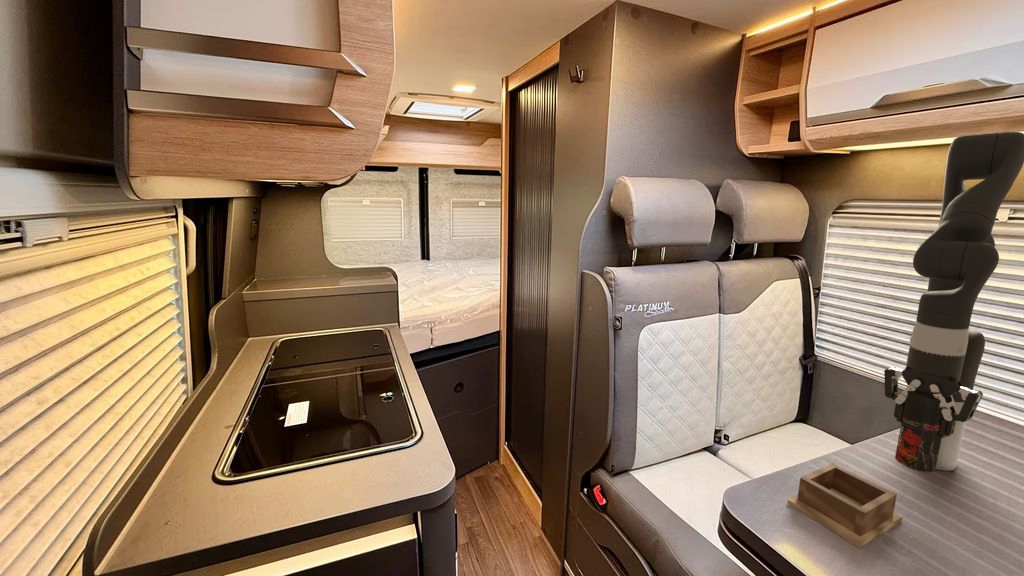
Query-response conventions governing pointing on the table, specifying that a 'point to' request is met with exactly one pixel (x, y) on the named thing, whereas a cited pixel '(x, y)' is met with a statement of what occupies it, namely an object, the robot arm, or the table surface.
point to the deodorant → (920, 432)
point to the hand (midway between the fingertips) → (921, 428)
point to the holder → (846, 504)
